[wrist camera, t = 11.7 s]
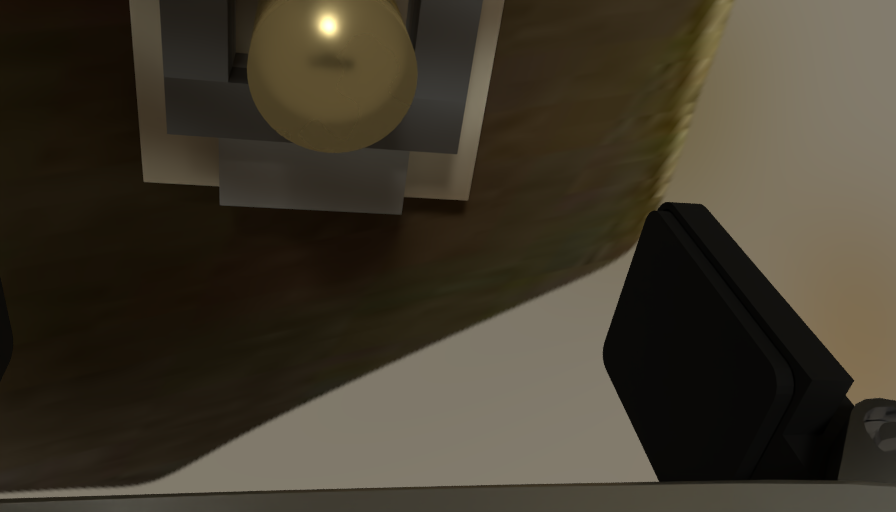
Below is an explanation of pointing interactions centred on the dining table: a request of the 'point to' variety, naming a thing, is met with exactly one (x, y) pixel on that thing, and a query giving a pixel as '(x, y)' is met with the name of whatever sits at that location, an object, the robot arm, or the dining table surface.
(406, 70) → the brass pin
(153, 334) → the dining table surface
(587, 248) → the dining table surface
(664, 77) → the dining table surface
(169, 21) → the gray stepped fixture base
